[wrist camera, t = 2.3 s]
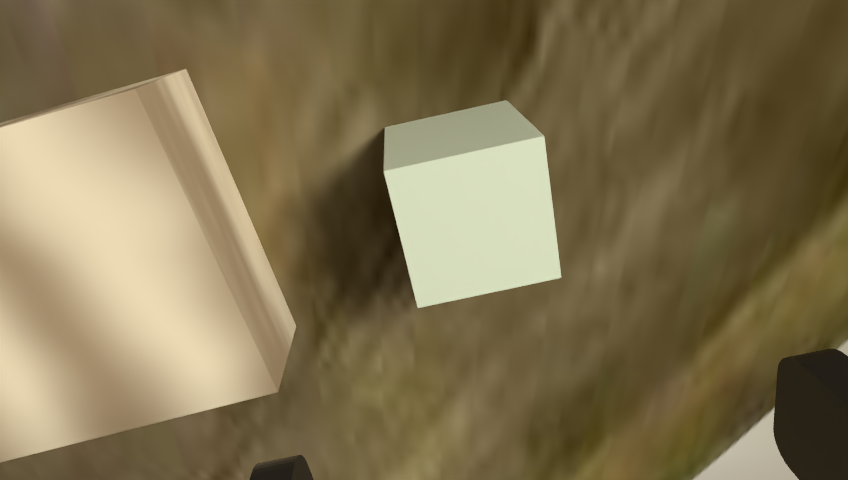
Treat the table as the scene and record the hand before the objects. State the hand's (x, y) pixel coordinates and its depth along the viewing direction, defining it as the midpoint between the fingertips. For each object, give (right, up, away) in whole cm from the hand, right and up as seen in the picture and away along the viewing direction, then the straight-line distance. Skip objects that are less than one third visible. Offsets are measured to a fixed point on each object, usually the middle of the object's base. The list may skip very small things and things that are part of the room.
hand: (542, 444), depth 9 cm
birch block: (-15, +3, +15) cm, 22 cm away
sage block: (-1, +6, +14) cm, 16 cm away
